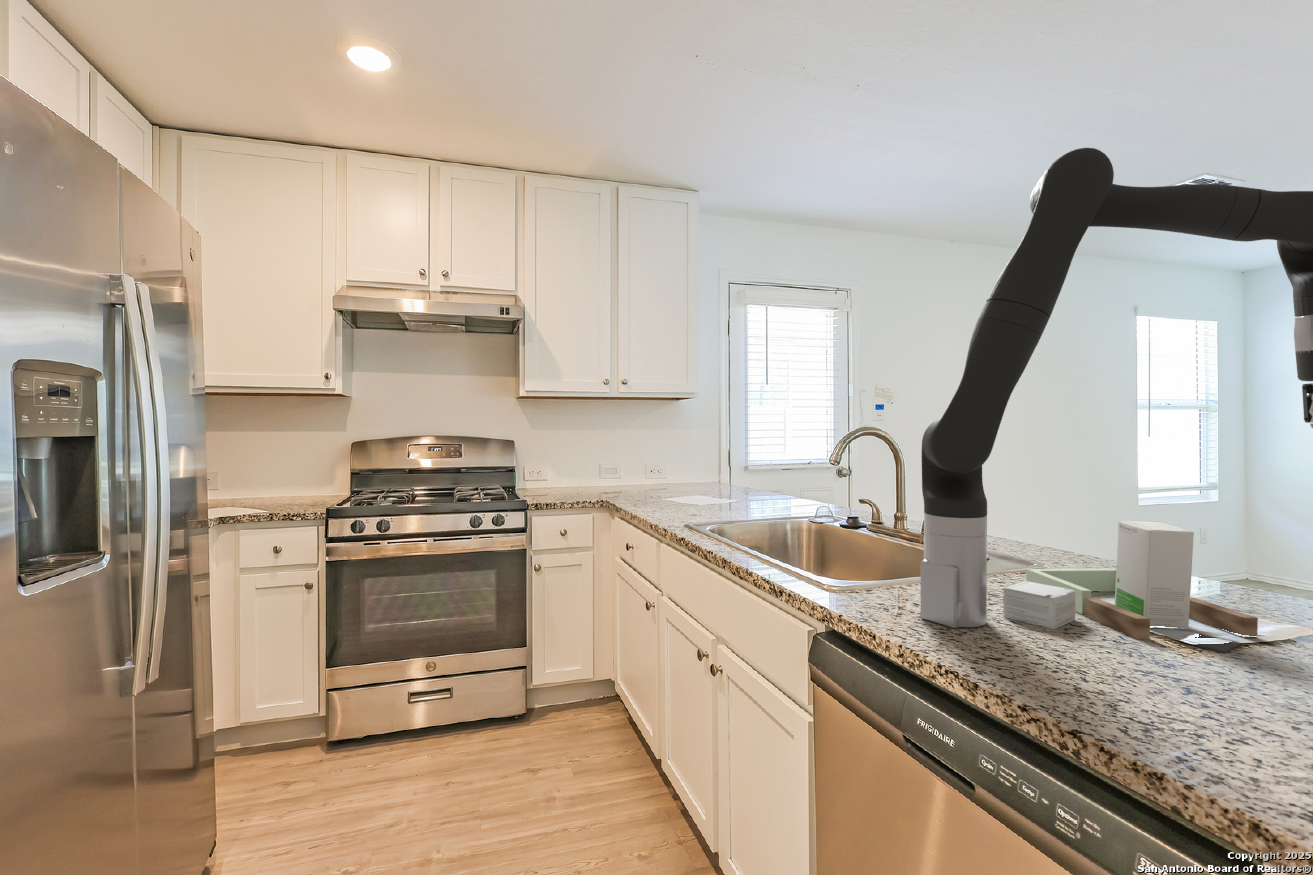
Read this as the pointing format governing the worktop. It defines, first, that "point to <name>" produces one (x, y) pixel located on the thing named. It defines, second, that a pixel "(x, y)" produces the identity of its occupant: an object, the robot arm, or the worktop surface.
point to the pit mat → (1218, 645)
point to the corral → (1076, 581)
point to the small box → (1039, 604)
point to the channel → (1198, 611)
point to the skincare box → (1154, 571)
